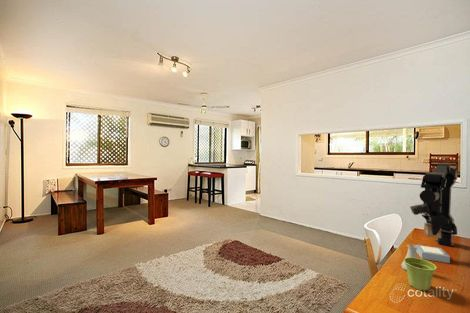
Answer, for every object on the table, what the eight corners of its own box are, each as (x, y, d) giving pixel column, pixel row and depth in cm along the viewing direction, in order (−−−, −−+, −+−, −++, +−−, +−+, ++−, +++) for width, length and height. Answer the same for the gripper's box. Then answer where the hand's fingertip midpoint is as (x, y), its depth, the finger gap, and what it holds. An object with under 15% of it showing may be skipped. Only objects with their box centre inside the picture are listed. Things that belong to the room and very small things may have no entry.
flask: (415, 265, 102) (415, 243, 101) (427, 274, 94) (427, 250, 94) (397, 264, 102) (397, 242, 102) (408, 273, 95) (408, 249, 95)
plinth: (415, 250, 117) (415, 244, 117) (440, 254, 113) (441, 247, 113) (421, 258, 108) (422, 252, 108) (449, 263, 104) (449, 256, 104)
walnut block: (423, 233, 114) (424, 222, 114) (436, 234, 112) (437, 224, 112) (427, 236, 109) (427, 225, 109) (441, 238, 107) (441, 227, 107)
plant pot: (438, 297, 79) (439, 272, 79) (404, 288, 84) (404, 264, 84) (433, 284, 87) (433, 261, 87) (402, 276, 92) (402, 255, 92)
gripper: (407, 195, 122) (406, 225, 122) (418, 202, 105) (417, 237, 105) (434, 197, 117) (433, 228, 118) (450, 205, 100) (449, 241, 101)
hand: (432, 233), depth 110 cm, fingers closed on walnut block, 5 cm apart
